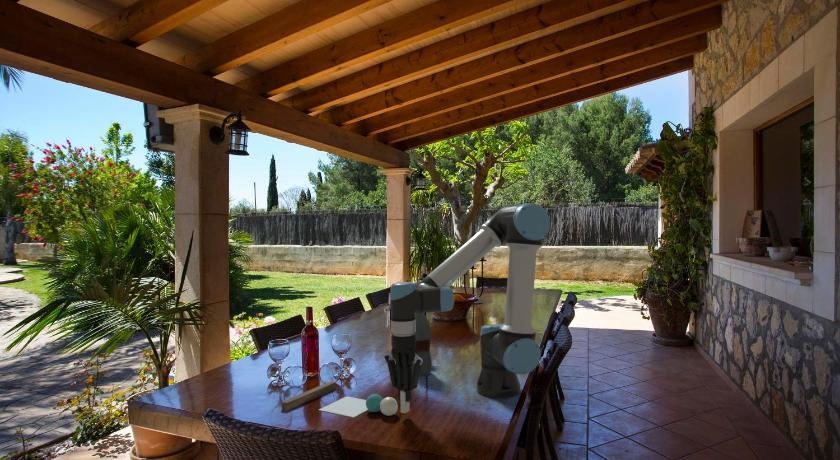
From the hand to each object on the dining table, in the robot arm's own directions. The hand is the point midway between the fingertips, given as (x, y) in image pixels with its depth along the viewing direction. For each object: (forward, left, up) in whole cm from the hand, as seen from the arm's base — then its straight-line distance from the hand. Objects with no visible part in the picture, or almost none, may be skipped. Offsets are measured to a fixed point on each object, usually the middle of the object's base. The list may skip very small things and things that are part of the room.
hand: (405, 411), depth 154 cm
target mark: (+21, 0, -2) cm, 21 cm away
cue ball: (+6, 0, +1) cm, 6 cm away
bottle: (+19, -42, -2) cm, 46 cm away
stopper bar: (+38, 0, -2) cm, 38 cm away
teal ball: (+11, 0, +1) cm, 11 cm away
